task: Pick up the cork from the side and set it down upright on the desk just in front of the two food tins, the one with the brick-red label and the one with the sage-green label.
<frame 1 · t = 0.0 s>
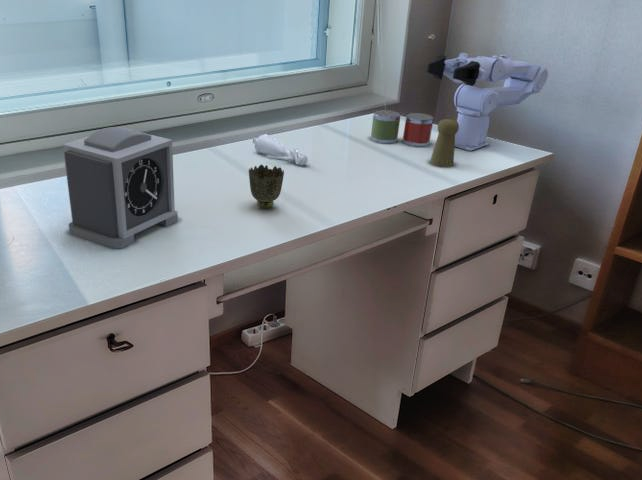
hand: (441, 70, 169), 22 cm above the table, tool horizontal, fingers open, 7 cm apart
green tin: (383, 139, 194), on the table
woman figurine: (280, 158, 176), on the table
red tin: (415, 142, 193), on the table
cork: (441, 164, 178), on the table
alarm clock: (125, 226, 136), on the table
cup: (265, 207, 147), on the table
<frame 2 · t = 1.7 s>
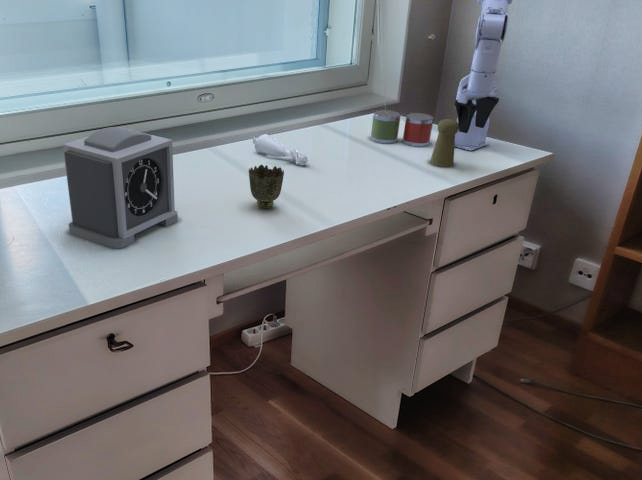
hand: (471, 129, 169), 10 cm above the table, tool pointing down, fingers open, 7 cm apart
nothing on the table moved.
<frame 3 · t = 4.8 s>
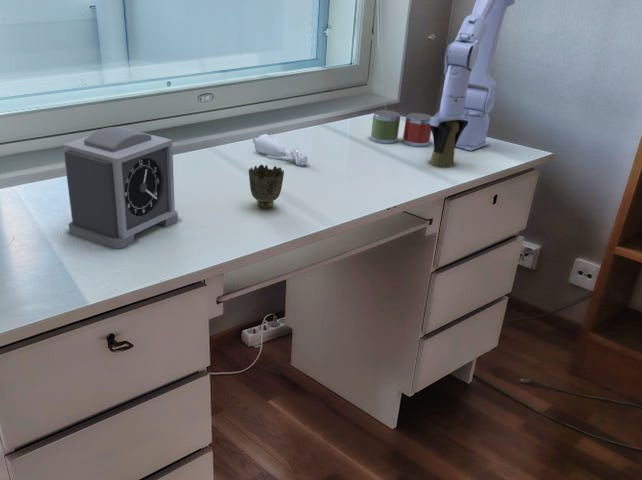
hand: (444, 150, 176), 3 cm above the table, tool pointing down, fingers closed on cork, 5 cm apart
cork: (441, 164, 178), on the table, touching gripper
everything else where it was.
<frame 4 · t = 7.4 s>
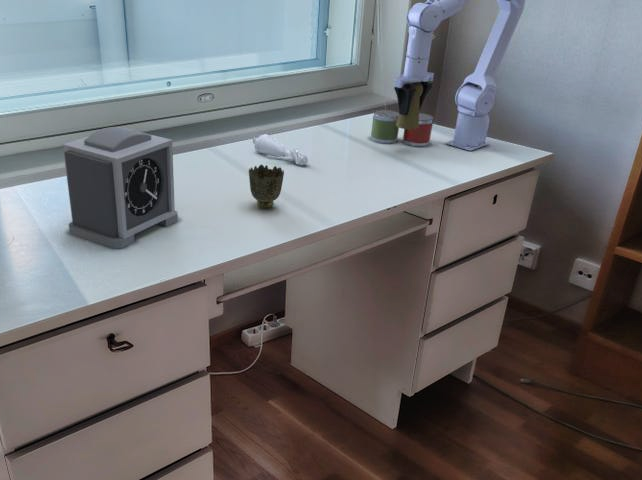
hand: (409, 113, 179), 10 cm above the table, tool pointing down, fingers closed on cork, 5 cm apart
cork: (407, 127, 181), point 7 cm above the table, touching gripper
everything else where it was.
when the fingers open (3 cm above the table, at t = 9.9 s): cork stays where it is, on the table.
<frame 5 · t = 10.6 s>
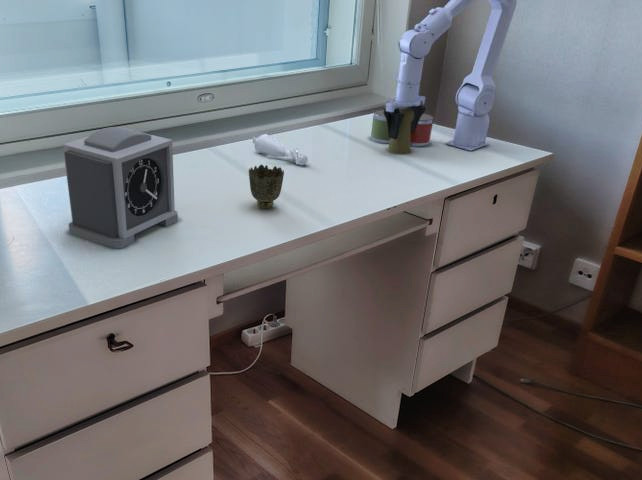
hand: (401, 135, 183), 4 cm above the table, tool pointing down, fingers open, 7 cm apart
cork: (398, 151, 186), on the table
everything else where it was.
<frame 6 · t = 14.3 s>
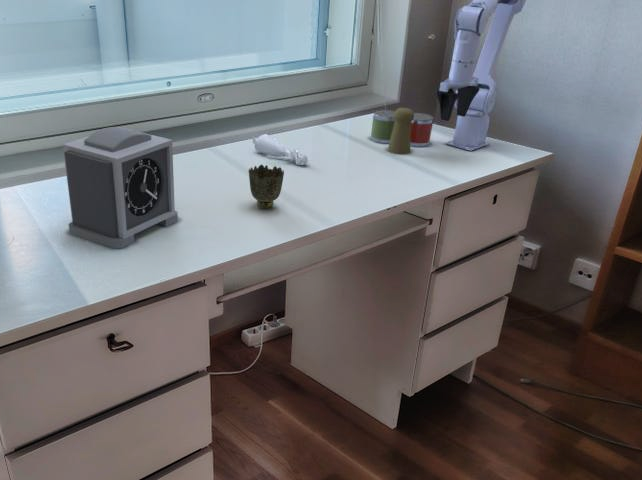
hand: (453, 117, 176), 10 cm above the table, tool pointing down, fingers open, 7 cm apart
nothing on the table moved.
at the end: cork 0.0 cm from the target spot, on the table; cork tilted 0°; red tin moved 0.0 cm from its start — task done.
